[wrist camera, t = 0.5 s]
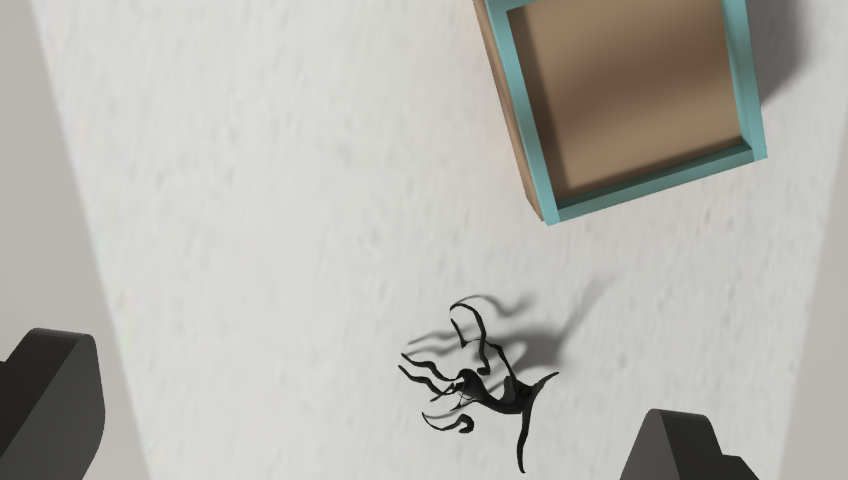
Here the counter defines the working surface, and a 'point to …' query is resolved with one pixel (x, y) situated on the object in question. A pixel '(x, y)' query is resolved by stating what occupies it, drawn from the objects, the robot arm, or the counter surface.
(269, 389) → the counter surface
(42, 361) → the robot arm
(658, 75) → the walnut base block
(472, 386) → the creature
